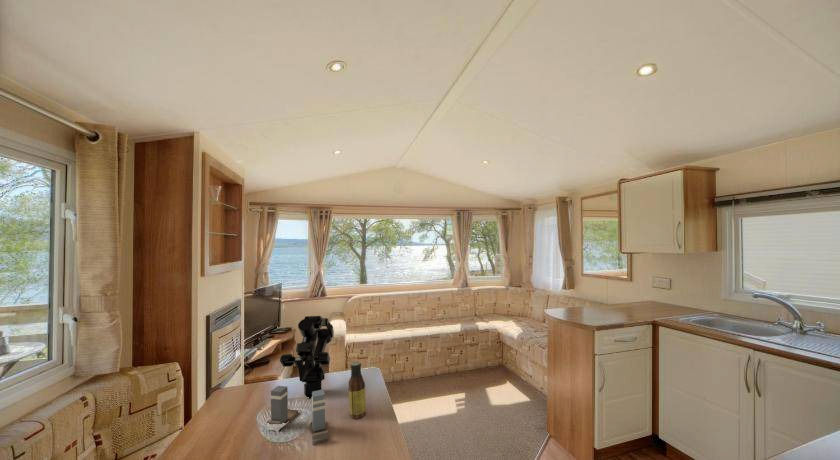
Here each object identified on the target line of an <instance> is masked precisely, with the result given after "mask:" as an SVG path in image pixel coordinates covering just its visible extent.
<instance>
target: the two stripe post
mask: <svg viewBox="0 0 840 460" xmlns="http://www.w3.org/2000/svg"><path fill="white" fill-rule="evenodd" d="M311 408H312V409H311V411H312V412H311V413H312V415H311V417H312V418H311V420H312V421H311V422H312V426H313V432H314V431H318V430H322V429H325V423H326V395H325V389H321V390H318V391H313V392H312V398H311Z"/></svg>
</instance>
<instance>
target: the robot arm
mask: <svg viewBox="0 0 840 460" xmlns="http://www.w3.org/2000/svg"><path fill="white" fill-rule="evenodd" d="M322 327H325V328H322ZM297 328H298V330H299V333H300V334H301V337H303V338H302V341H301V342H297V343H296V345H295V346H296V349H295V353H296V356H293V354H292V353H283V354H282V355H280V358H279V362H280V364H281V365H282V367H287V368H288V367H292V366H294V365H295V367H296V368H297V369H298V375H299V382H301V383H304V385H303V394H304V396H305V397H306V398H307V397H309V399H312V392H313V391H318V390H322V382H323V381H324V380H325V377H326V376H325V370H324V368H323V365H330V361H331V357H330V354H329V352H328V351H326V348H327V344H329V343H331V341H332V339H333V338H334V334H335V333H334V332H335V331H334V326H333V324H332V323H331V322H330V321H329V318H327V317H322V316H321V315H309V316H304V318H303V319H301V320H300V321H299V322H298V324H297Z"/></svg>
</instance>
